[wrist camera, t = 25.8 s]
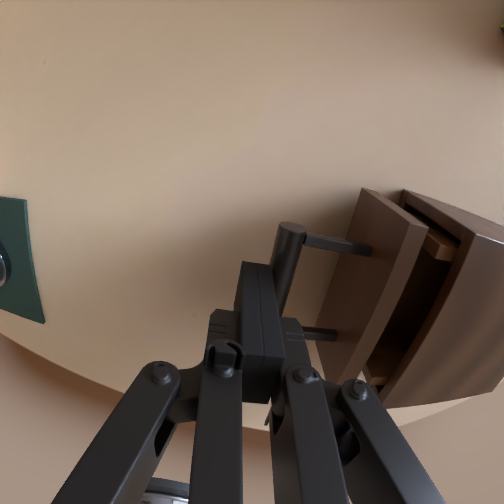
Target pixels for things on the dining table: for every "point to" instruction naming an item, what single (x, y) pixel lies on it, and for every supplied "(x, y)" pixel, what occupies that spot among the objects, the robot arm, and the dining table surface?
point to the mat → (18, 262)
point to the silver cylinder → (4, 266)
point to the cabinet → (455, 316)
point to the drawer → (370, 286)
